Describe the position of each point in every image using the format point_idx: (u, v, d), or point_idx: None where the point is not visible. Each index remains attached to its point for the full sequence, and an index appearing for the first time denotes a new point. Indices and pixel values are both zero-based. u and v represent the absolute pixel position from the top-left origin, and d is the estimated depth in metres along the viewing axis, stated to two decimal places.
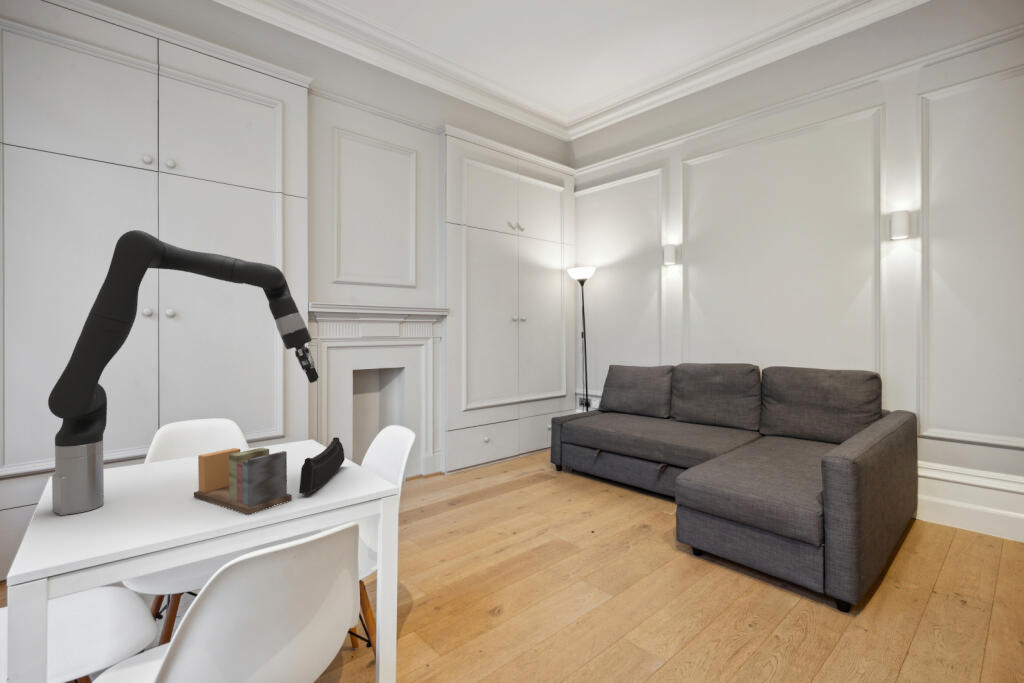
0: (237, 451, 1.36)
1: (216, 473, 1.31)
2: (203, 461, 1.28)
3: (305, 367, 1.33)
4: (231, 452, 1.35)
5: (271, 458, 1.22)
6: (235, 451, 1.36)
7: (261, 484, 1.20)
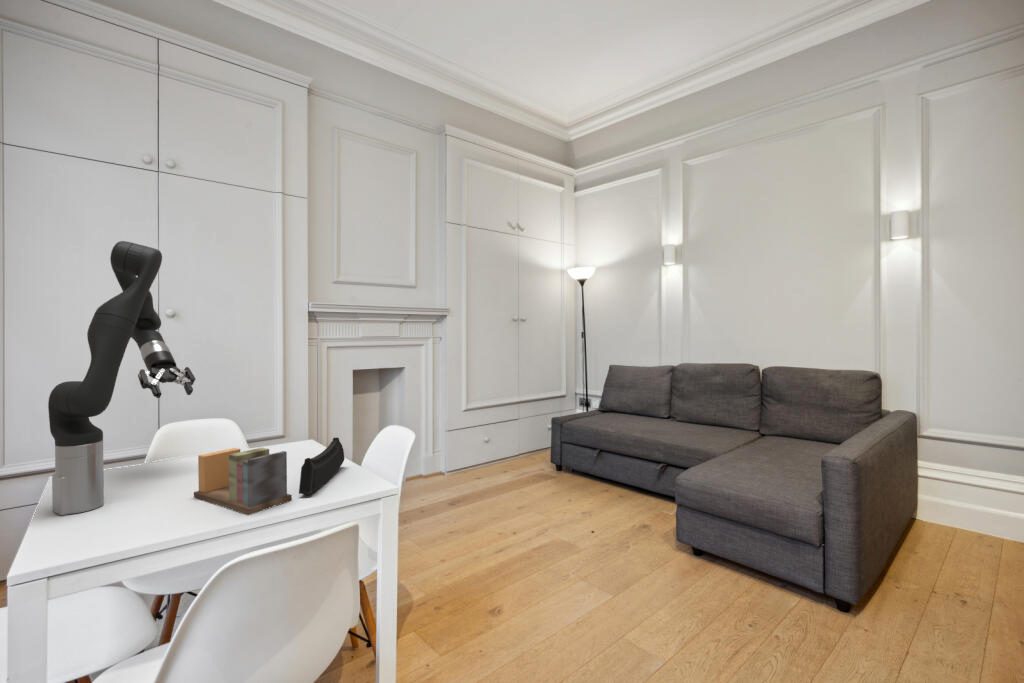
0: (237, 451, 1.36)
1: (216, 473, 1.31)
2: (203, 461, 1.28)
3: None
4: (231, 452, 1.35)
5: (271, 458, 1.22)
6: (235, 451, 1.36)
7: (261, 484, 1.20)
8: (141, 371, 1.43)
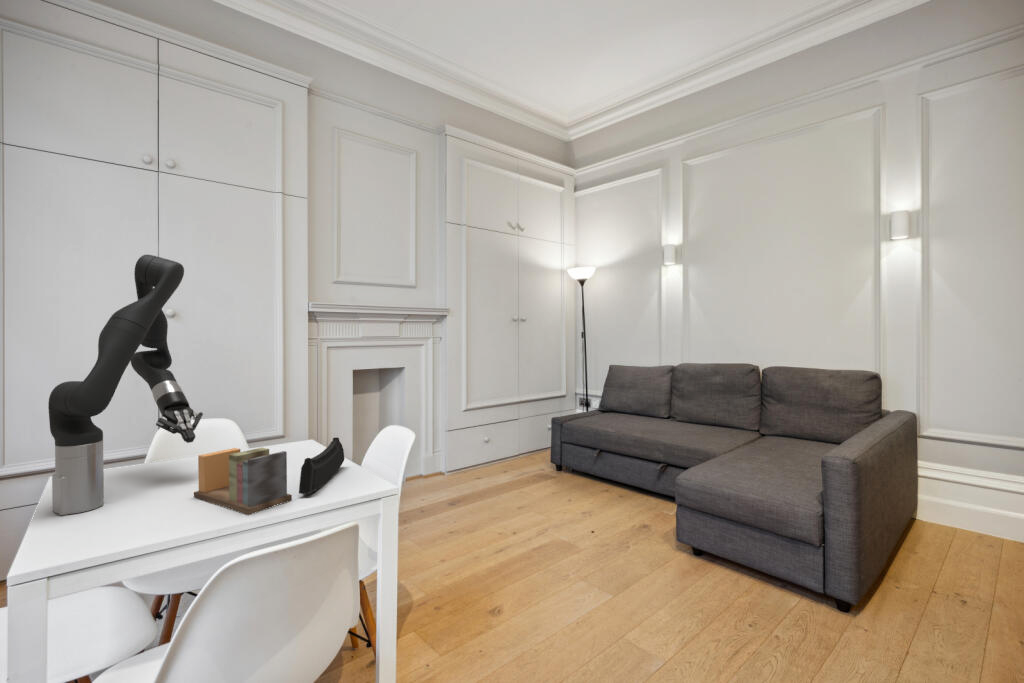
0: (237, 451, 1.36)
1: (216, 473, 1.31)
2: (203, 461, 1.28)
3: None
4: (231, 452, 1.35)
5: (271, 458, 1.22)
6: (235, 451, 1.36)
7: (261, 484, 1.20)
8: (161, 420, 1.39)
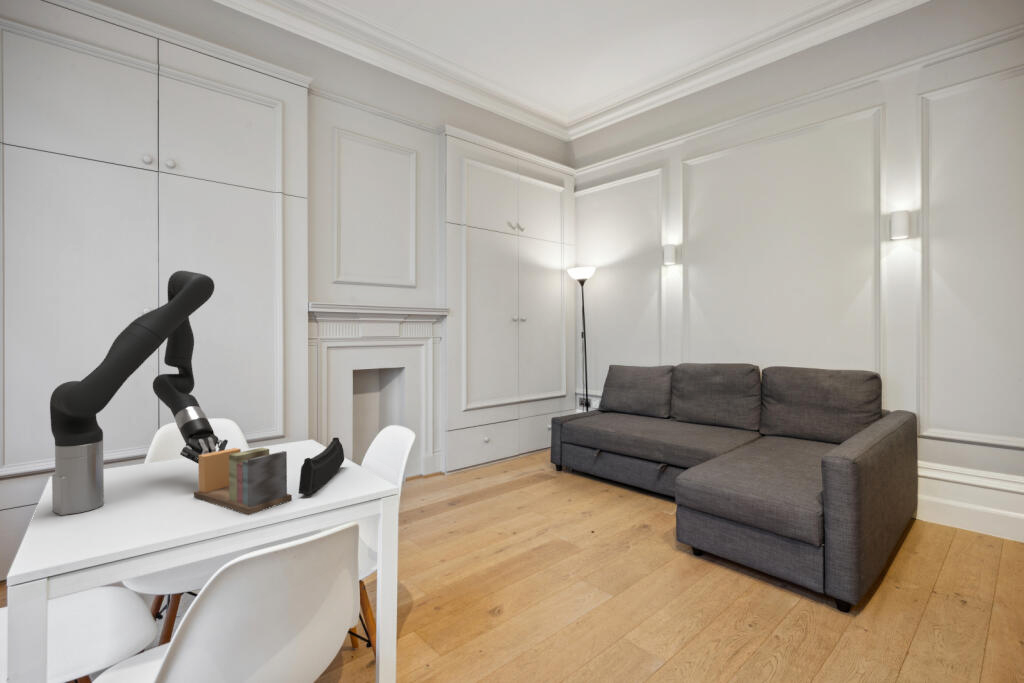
0: (237, 451, 1.36)
1: (216, 473, 1.31)
2: (203, 461, 1.28)
3: None
4: (231, 452, 1.35)
5: (271, 458, 1.22)
6: (235, 451, 1.36)
7: (261, 484, 1.20)
8: (185, 450, 1.32)
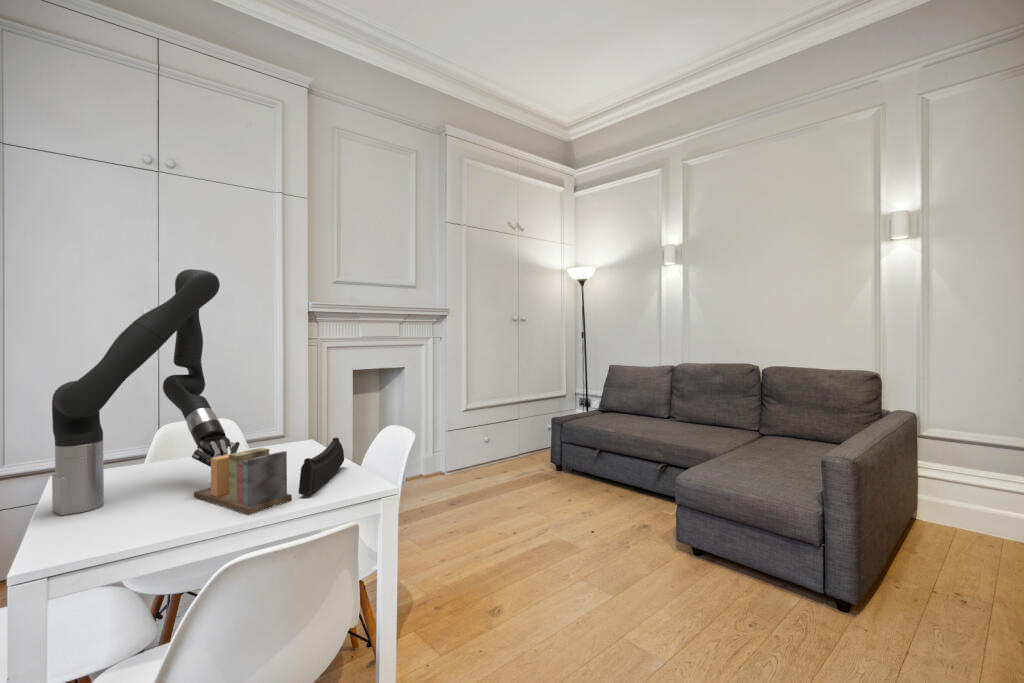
0: None
1: (228, 477, 1.28)
2: (216, 464, 1.25)
3: None
4: None
5: (271, 458, 1.22)
6: None
7: (261, 484, 1.20)
8: (197, 452, 1.29)
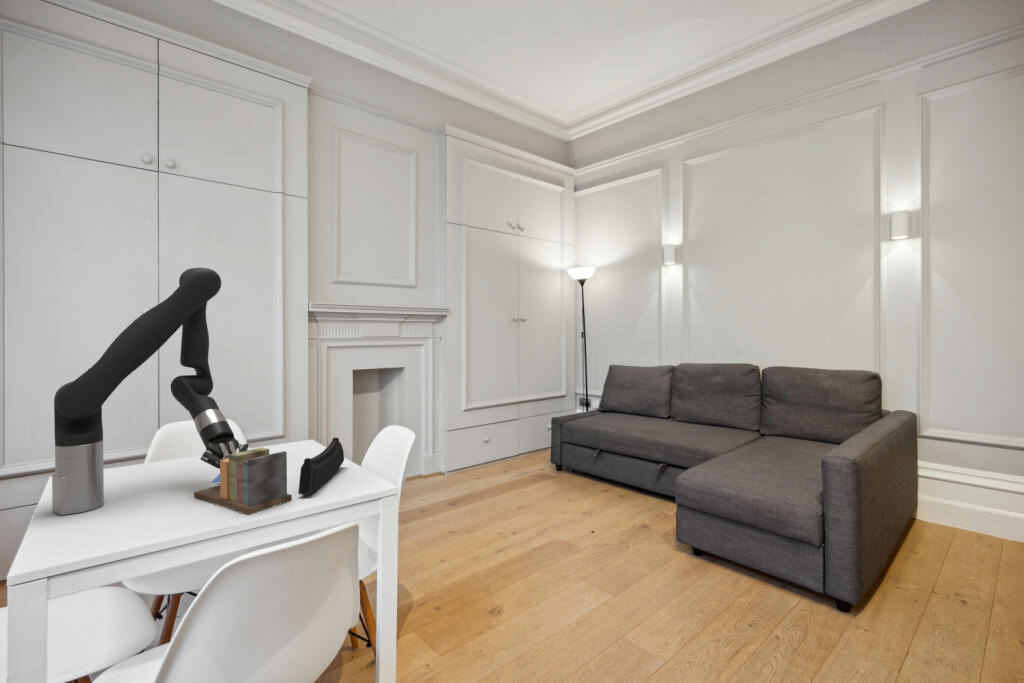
0: None
1: None
2: (225, 466, 1.23)
3: None
4: None
5: (271, 458, 1.22)
6: None
7: (261, 484, 1.20)
8: (206, 454, 1.26)
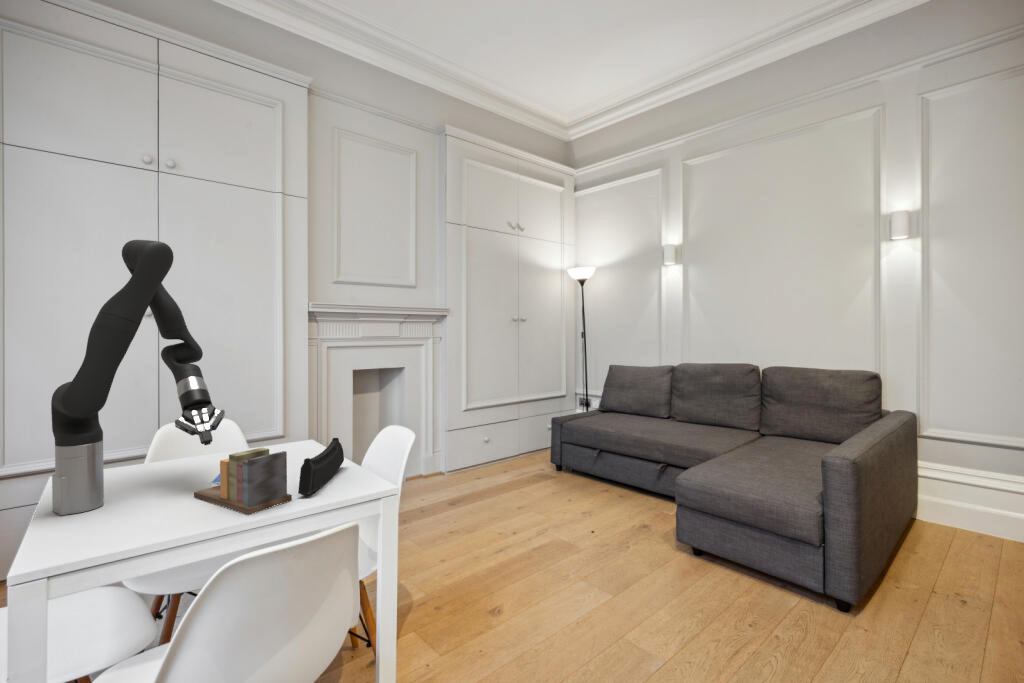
0: None
1: None
2: (225, 466, 1.23)
3: (216, 425, 1.36)
4: None
5: (271, 458, 1.22)
6: None
7: (261, 484, 1.20)
8: (177, 422, 1.32)
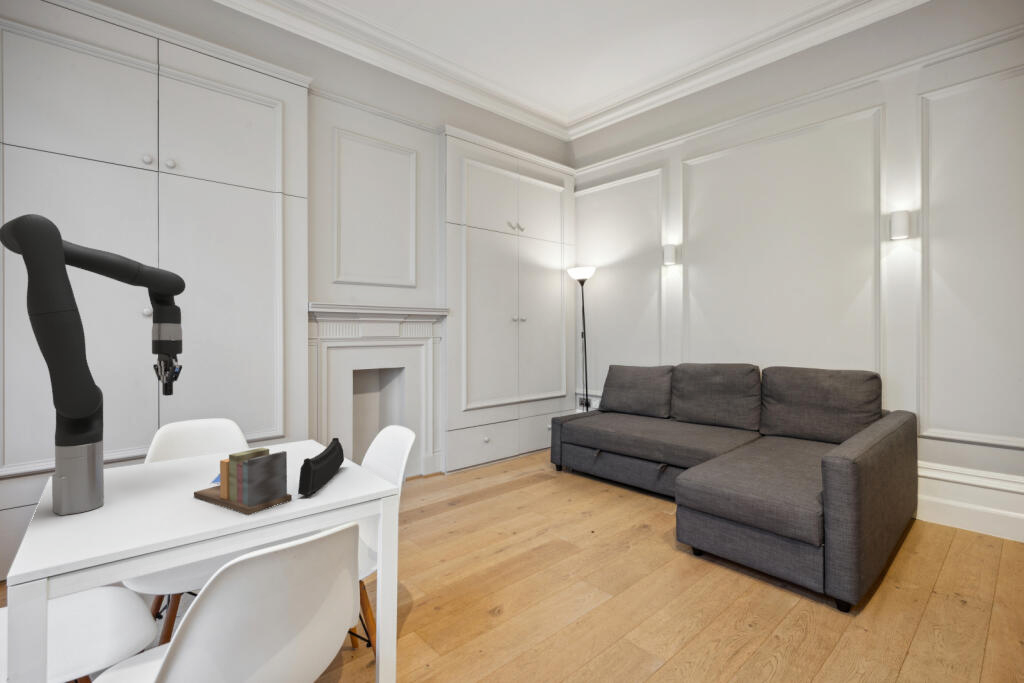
0: None
1: None
2: (225, 466, 1.23)
3: (171, 379, 1.40)
4: None
5: (271, 458, 1.22)
6: None
7: (261, 484, 1.20)
8: (154, 367, 1.44)
